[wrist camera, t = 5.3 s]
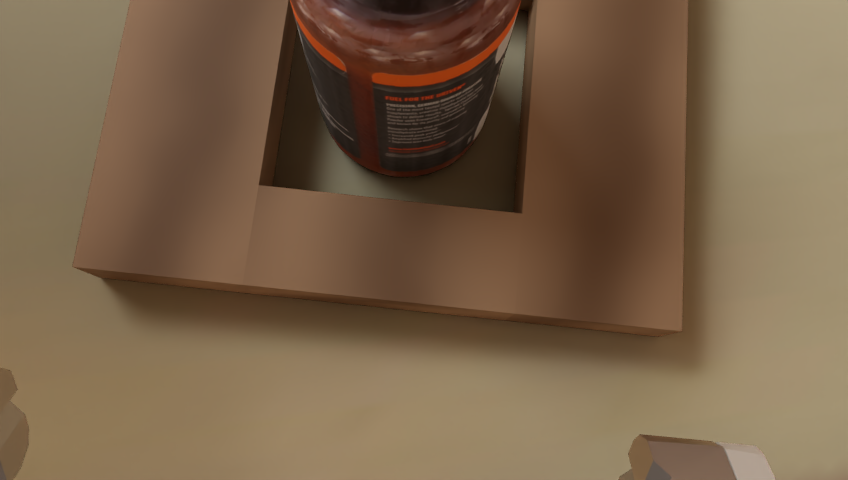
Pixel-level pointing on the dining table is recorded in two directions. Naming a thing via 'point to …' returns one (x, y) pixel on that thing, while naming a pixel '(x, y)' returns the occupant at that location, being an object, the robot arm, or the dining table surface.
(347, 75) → the supplement bottle
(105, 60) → the dining table surface
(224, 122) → the walnut dock board
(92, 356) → the dining table surface
